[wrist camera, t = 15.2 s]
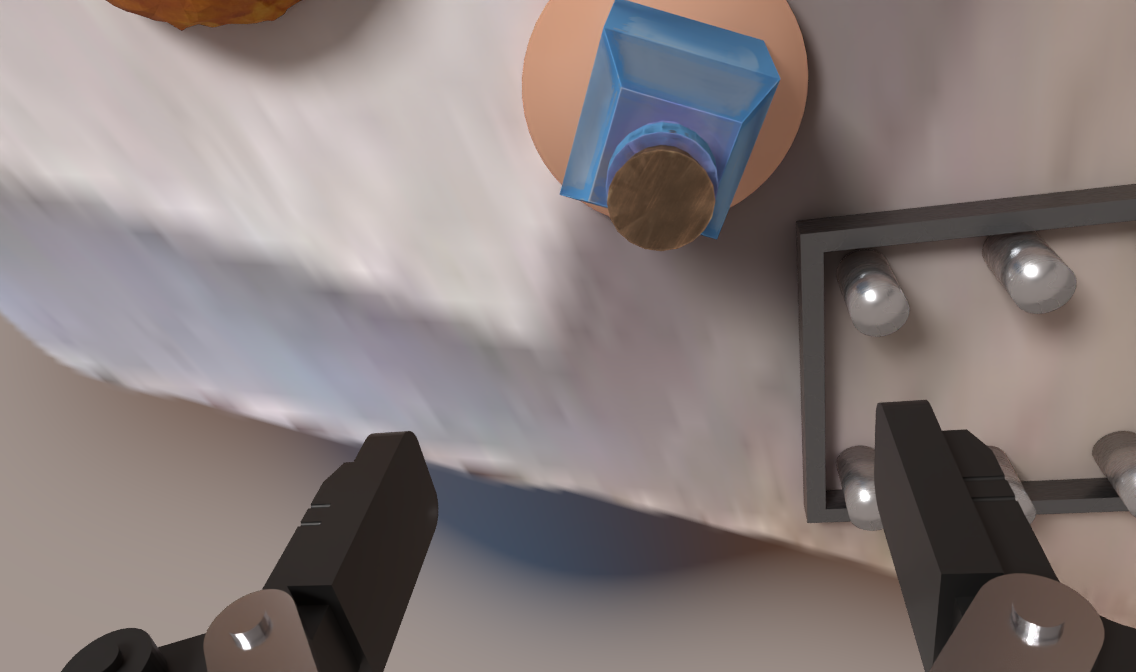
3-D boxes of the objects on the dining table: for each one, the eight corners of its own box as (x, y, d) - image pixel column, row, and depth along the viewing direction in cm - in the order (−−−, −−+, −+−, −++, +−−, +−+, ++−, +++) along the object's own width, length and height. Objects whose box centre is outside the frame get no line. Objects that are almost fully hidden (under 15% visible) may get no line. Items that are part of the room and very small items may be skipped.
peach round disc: (801, -93, 30) (805, -91, 29) (806, 199, 36) (810, 210, 35) (500, -37, 32) (494, -34, 31) (553, 228, 38) (549, 239, 37)
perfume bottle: (711, 180, 35) (724, 316, 25) (577, 142, 35) (535, 264, 25) (763, 40, 31) (804, 131, 21) (615, -3, 31) (586, 67, 21)
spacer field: (1261, 170, 33) (1327, 206, 30) (1169, 488, 42) (1212, 544, 39) (796, 221, 37) (807, 258, 33) (803, 504, 46) (814, 556, 42)
